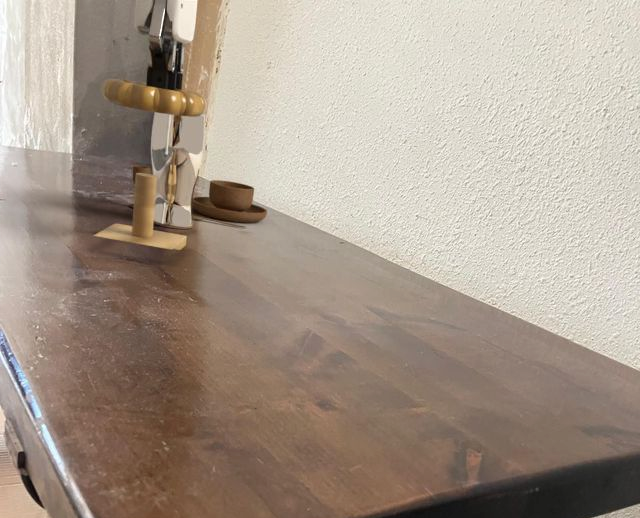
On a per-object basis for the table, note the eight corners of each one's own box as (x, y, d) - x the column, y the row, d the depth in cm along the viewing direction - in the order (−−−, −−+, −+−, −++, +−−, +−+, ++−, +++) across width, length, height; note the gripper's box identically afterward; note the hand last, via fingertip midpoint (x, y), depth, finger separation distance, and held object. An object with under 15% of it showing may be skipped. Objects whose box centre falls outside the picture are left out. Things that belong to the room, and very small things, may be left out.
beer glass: (135, 217, 104) (143, 102, 98) (178, 218, 109) (188, 109, 103) (162, 229, 100) (172, 110, 94) (205, 230, 105) (217, 116, 99)
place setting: (260, 231, 111) (265, 191, 108) (126, 207, 110) (128, 166, 107) (270, 214, 127) (275, 178, 124) (153, 193, 126) (156, 157, 123)
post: (92, 245, 85) (95, 171, 82) (114, 232, 93) (118, 164, 90) (170, 259, 85) (177, 186, 82) (185, 245, 94) (192, 178, 90)
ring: (88, 100, 78) (88, 75, 77) (119, 99, 88) (120, 77, 87) (194, 120, 78) (196, 95, 77) (212, 116, 88) (214, 95, 87)
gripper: (159, -69, 87) (148, 101, 94) (120, -102, 72) (110, 103, 79) (222, -57, 87) (206, 112, 94) (197, -88, 72) (180, 115, 80)
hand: (162, 106), depth 87 cm, fingers closed on ring, 2 cm apart
